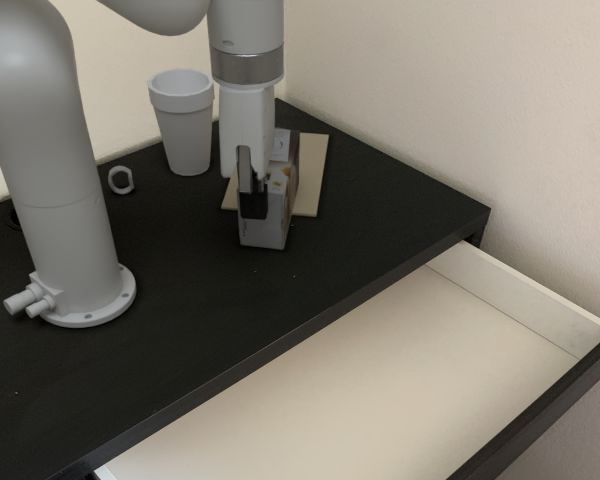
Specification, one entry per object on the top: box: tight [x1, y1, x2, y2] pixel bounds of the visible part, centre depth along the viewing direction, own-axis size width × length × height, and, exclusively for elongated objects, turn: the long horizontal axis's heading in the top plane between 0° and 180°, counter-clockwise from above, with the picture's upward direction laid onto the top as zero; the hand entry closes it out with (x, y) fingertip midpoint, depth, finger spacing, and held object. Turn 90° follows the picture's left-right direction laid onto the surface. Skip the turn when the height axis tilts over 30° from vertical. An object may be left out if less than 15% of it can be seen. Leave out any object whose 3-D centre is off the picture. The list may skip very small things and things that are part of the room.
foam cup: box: [146, 67, 216, 177], centre depth 100 cm, size 10×9×13 cm
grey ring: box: [107, 165, 135, 195], centre depth 98 cm, size 4×2×4 cm, turn 105°
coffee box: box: [237, 126, 301, 250], centre depth 92 cm, size 9×6×16 cm
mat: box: [220, 132, 330, 218], centre depth 104 cm, size 24×14×1 cm, turn 174°
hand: (254, 215), depth 81 cm, fingers closed
